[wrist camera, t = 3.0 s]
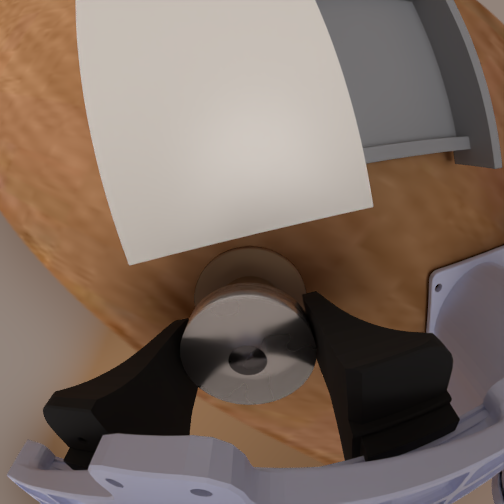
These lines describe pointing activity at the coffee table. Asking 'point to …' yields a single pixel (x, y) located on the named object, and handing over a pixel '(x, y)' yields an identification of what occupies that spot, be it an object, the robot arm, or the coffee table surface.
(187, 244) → the player
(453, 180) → the coffee table surface
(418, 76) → the tray
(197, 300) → the stand
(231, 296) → the disc
